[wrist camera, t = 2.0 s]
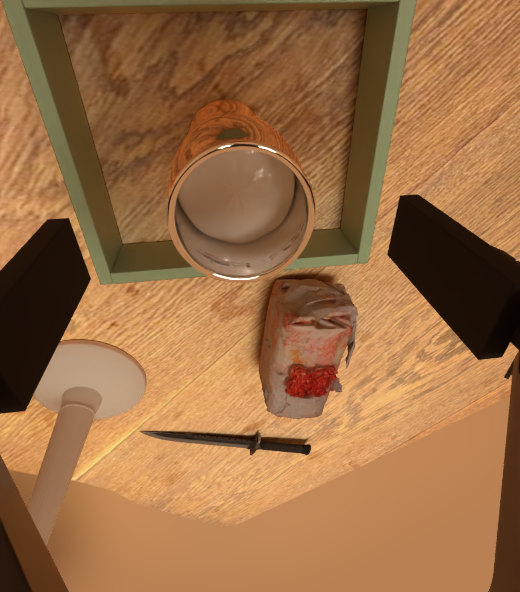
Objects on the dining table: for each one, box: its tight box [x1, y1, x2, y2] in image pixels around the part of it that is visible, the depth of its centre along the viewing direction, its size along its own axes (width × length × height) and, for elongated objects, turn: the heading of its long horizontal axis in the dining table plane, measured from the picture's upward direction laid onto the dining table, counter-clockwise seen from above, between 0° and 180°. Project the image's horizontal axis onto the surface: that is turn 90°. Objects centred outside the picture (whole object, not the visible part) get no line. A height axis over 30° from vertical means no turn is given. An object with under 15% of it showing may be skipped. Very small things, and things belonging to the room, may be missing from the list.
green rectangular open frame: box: [1, 0, 417, 285], centre depth 25 cm, size 18×22×5 cm
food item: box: [259, 279, 358, 419], centre depth 35 cm, size 14×8×10 cm, turn 174°
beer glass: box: [166, 99, 316, 283], centre depth 21 cm, size 7×7×15 cm
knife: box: [140, 431, 311, 455], centre depth 50 cm, size 25×2×5 cm
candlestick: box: [27, 340, 146, 545], centre depth 29 cm, size 13×13×30 cm
